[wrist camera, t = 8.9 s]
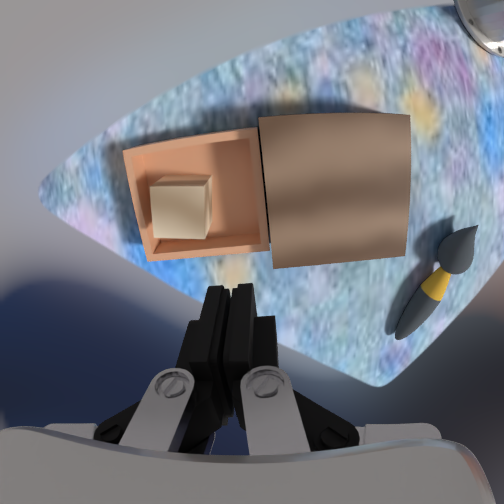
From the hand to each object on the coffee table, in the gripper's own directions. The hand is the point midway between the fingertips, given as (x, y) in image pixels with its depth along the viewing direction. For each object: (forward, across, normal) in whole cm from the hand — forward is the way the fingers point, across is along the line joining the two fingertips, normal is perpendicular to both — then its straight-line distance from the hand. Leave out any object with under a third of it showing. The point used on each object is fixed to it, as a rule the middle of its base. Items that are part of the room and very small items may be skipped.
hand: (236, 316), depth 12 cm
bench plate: (+22, -8, 0) cm, 24 cm away
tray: (+22, +5, 0) cm, 23 cm away
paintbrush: (+23, -23, +15) cm, 36 cm away
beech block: (+19, +7, +1) cm, 20 cm away
